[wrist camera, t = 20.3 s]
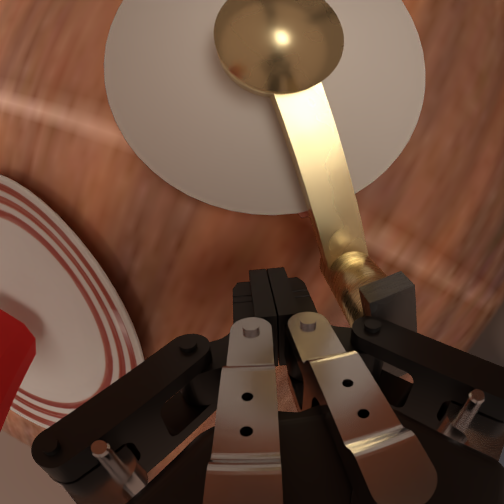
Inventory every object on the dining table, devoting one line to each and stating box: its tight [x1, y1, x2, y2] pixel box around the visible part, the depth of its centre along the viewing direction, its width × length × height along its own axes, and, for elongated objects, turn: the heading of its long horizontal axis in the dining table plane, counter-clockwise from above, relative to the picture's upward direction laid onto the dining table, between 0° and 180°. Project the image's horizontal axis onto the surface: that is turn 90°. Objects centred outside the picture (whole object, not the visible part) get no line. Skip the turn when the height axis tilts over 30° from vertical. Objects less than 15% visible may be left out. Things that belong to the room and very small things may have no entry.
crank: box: [214, 0, 417, 377], centre depth 10 cm, size 16×5×7 cm, turn 19°
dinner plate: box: [0, 175, 145, 428], centre depth 20 cm, size 28×27×3 cm
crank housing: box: [104, 0, 425, 218], centre depth 14 cm, size 16×16×4 cm
